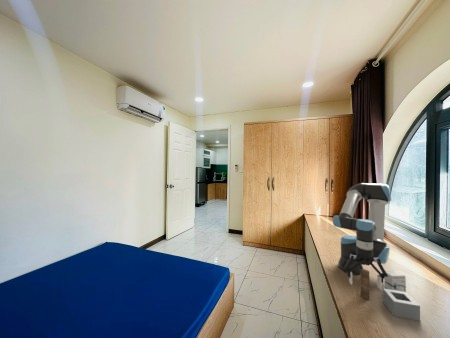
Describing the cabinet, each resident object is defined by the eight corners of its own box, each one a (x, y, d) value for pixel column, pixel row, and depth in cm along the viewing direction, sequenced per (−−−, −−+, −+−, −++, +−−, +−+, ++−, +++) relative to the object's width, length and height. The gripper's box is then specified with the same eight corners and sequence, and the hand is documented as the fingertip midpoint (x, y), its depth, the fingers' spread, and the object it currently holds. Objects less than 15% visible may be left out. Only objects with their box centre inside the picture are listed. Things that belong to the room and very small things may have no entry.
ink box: (391, 296, 102) (391, 276, 102) (383, 290, 107) (383, 271, 107) (406, 296, 102) (406, 275, 102) (397, 290, 107) (397, 270, 107)
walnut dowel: (359, 294, 104) (359, 268, 104) (367, 295, 102) (367, 269, 103) (362, 299, 100) (362, 272, 100) (370, 300, 99) (370, 273, 99)
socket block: (383, 301, 98) (383, 288, 98) (406, 305, 95) (406, 292, 95) (394, 316, 88) (394, 301, 88) (420, 321, 85) (420, 305, 85)
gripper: (341, 247, 102) (341, 285, 101) (395, 253, 94) (396, 294, 94) (337, 242, 109) (337, 277, 108) (387, 248, 101) (388, 285, 101)
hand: (364, 285), depth 101 cm, fingers open, 13 cm apart
